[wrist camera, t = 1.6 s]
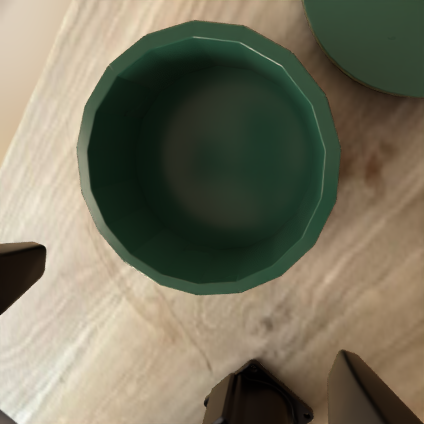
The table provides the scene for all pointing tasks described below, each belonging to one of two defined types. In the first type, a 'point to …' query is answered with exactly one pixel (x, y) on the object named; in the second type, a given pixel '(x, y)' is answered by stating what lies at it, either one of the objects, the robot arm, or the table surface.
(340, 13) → the lid
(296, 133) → the tin
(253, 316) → the table surface
